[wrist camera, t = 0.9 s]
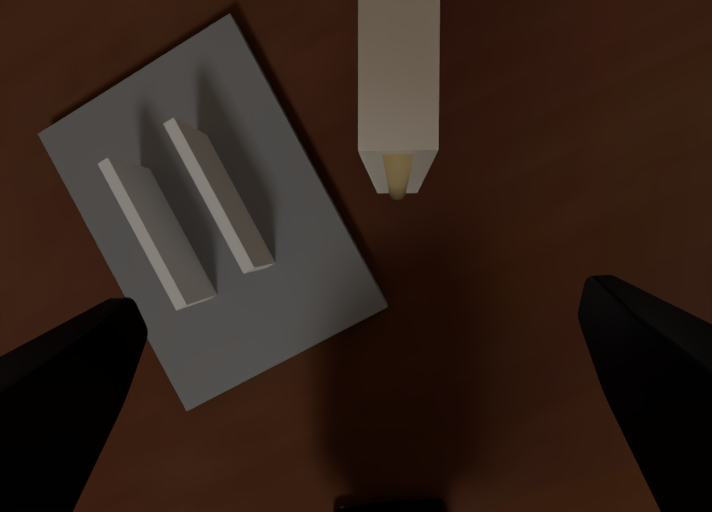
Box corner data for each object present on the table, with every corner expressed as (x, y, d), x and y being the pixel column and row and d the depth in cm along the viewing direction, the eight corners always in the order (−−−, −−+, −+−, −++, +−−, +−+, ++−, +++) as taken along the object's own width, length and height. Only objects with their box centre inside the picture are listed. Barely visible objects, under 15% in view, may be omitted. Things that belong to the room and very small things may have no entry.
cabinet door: (417, 201, 24) (438, 166, 12) (377, 201, 24) (358, 167, 12) (418, 80, 23) (440, -83, 11) (377, 81, 23) (358, -77, 12)
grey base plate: (388, 304, 24) (386, 320, 20) (194, 404, 25) (151, 440, 21) (236, 22, 24) (200, -27, 20) (52, 137, 25) (-22, 117, 21)
